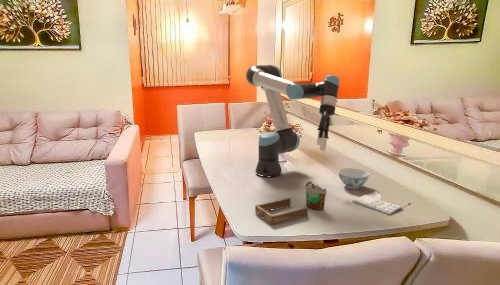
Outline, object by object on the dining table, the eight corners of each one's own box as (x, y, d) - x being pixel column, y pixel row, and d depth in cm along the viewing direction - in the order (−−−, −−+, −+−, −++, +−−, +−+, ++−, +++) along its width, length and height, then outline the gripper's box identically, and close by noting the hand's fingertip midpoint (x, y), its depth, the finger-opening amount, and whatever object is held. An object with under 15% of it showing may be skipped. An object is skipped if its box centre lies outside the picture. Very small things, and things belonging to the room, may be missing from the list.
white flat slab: (350, 202, 158) (351, 198, 157) (376, 193, 170) (376, 188, 169) (388, 217, 143) (389, 212, 143) (413, 205, 155) (414, 200, 155)
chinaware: (350, 193, 167) (351, 178, 166) (331, 184, 181) (332, 170, 179) (374, 189, 173) (375, 174, 171) (354, 180, 187) (355, 166, 185)
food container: (298, 203, 156) (299, 182, 154) (309, 201, 158) (310, 180, 156) (313, 213, 145) (314, 191, 143) (325, 211, 147) (326, 189, 145)
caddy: (255, 213, 145) (255, 205, 145) (289, 205, 154) (289, 197, 153) (271, 225, 134) (272, 217, 134) (307, 215, 143) (307, 208, 142)
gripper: (333, 98, 158) (326, 143, 154) (337, 114, 181) (330, 153, 177) (317, 97, 160) (309, 141, 157) (322, 112, 183) (316, 151, 180)
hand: (321, 147), depth 167 cm, fingers open, 13 cm apart
